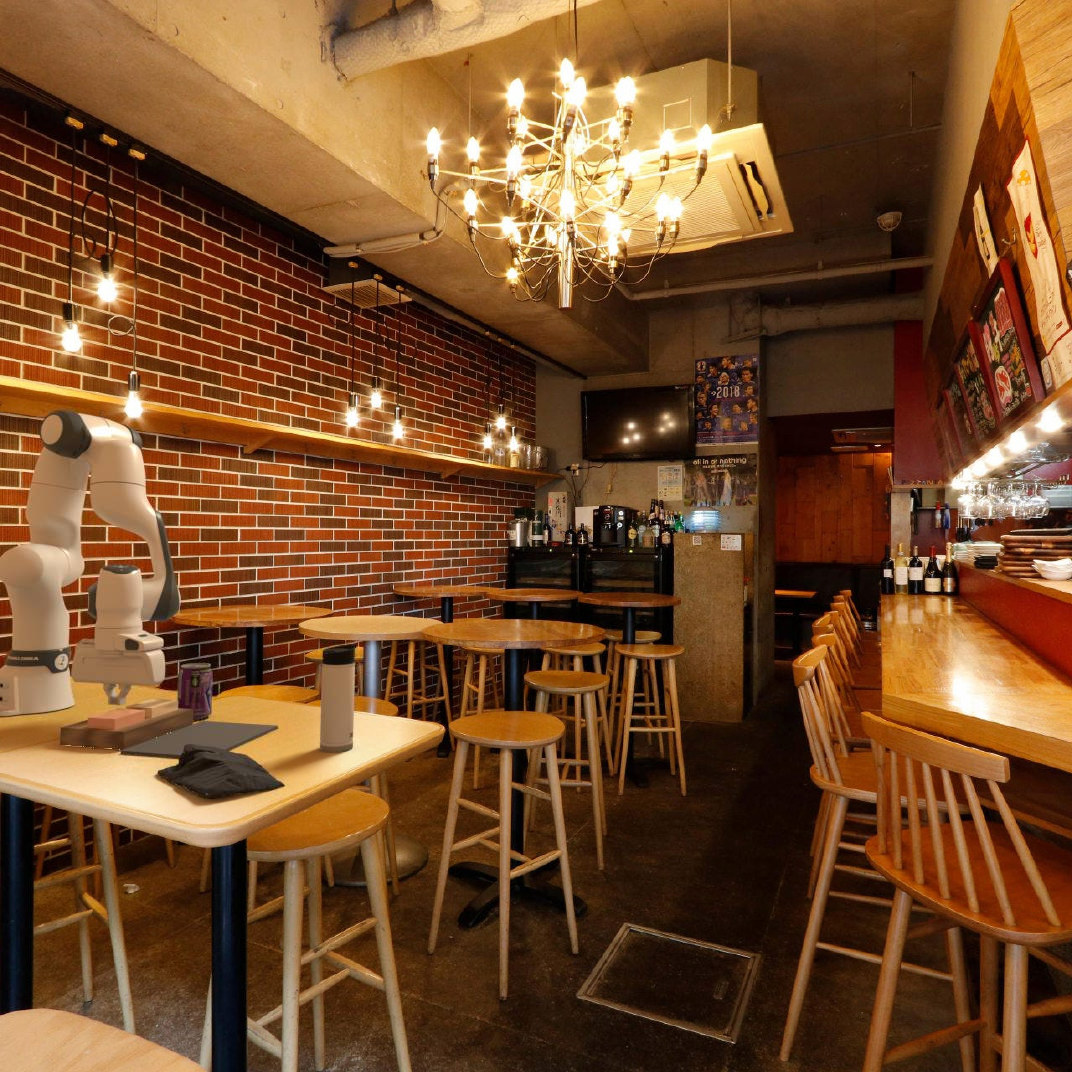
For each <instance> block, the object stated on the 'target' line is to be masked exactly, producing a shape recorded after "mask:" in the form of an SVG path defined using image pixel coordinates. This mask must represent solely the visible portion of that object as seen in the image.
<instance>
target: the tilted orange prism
mask: <svg viewBox="0 0 1072 1072" xmlns="http://www.w3.org/2000/svg"><path fill="white" fill-rule="evenodd" d="M87 720H88V724H87V728H97V729H111V730H115V729H119V728H122V727H125V726H128V725H131V724H134V723H137V722H140V721H143V720H145V710H134V709H126V708H116V709H113V710H109V711H106V712H103V713H99V714H95V715H92V716H89V717H87Z"/></svg>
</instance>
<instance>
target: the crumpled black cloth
mask: <svg viewBox="0 0 1072 1072" xmlns="http://www.w3.org/2000/svg"><path fill="white" fill-rule="evenodd" d="M157 775H159V776H160V777H163V778H165V779H167V780H168V781H169V782H170V783H173V784H174V785H176V786H178V787H184V788H185V789H186V790H188V791H189V792H191V793H192V792H193V793H194V794H196V795H198V796H201V797H203V798H209V799H217V798H222V797H226V796H227V797H229V796H232V795H242V794H243V795H245V794H251V793H252V794H253V793H255V792H257V793H258V792H259V793H260V792H268V791H274V790H277V789H279V788H281V787H285V786H286V785H285V784H284V783H283V782H282V781H280V780H278V779H276V778H275V776H273V775H272V774H271V773H270V772H269V771H268V770H267V769H265V768H264V767H263V765H262V764H259V763H258V762H257V761H256V760H254V758H252V757H250V756H248V755H247V754H245V753H238V752H233V751H231V750H230V751H226V750H224V749H220V748H216V747H211V746H202V745H195V744H187V745H185V746H184V750H183V753H182V754H181V757H180V758H178V763H177V764H175V765H172V766H167V767H164V768H163V769H158V770H157Z"/></svg>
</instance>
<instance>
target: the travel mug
mask: <svg viewBox="0 0 1072 1072" xmlns="http://www.w3.org/2000/svg"><path fill="white" fill-rule="evenodd" d="M356 649H357V644H353V643H350V644H349V643H348V644H347V645H346V644H345V645H335V646H330V647H327V648H324V649H323V650H322V660H321V661H322V663H321V686H320V688H321V691H320V694H321V695H320V726H319V728H320V729H319V730H320V731H319V733H320V734H319V736H320V737H319V740H320V742H319V749H320V751H322V752H325V753H342V752H347V751H350V750H352V748H353V747H354V725H355V723H354V719H355V717H354V716H355V680H356V678H355V677H356V675H355V674H356V673H355V672H356V666H355V665H356V660H355V658H356Z"/></svg>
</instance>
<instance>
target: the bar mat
mask: <svg viewBox="0 0 1072 1072" xmlns="http://www.w3.org/2000/svg"><path fill="white" fill-rule="evenodd" d="M278 729H279V725H274V724H261V723H260V724H259V723H244V722H243V723H241V722H227V721H212V720H211V721H210V720H200V721H198V722H196V723H193V725H190V726H187V727H184V728H182V729H179V730H176V731H173V732H171V733H168V734H165V735H162V736H160V737H157V738H154V739H151V740H149V741H146V742H143V743H140V744H138V745H135V746H132V747H129V748H127V749H124V750H120V754H121V755H129V754H131V756H142V757H143V756H145V757H146V756H147V757H157V758H170V759H171V758H172V759H179V758H180V757H181V754H182V753H183V750H184V746H185V745H187V744H195V745H202V746H211V747H216V748H220V749H224V750H226V751H230V752H231V751H232V750H234V749H236V748H238V747H240V746H243V745H245V744H247V743H249V742H252V741H253V740H256V739H258V738H260V737H262V735H263V736H264V735H267V734H268V732H269V733H271V732H274V731H276V730H278Z"/></svg>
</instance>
